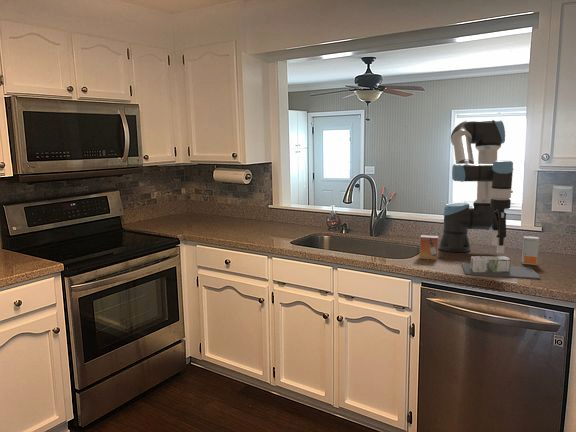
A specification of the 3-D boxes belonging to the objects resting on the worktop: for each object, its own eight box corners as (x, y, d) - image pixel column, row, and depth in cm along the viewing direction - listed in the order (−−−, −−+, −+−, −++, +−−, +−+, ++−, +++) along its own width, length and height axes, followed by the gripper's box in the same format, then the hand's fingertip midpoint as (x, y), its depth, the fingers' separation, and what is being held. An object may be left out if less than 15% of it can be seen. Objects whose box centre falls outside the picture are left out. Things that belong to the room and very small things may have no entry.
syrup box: (505, 255, 196) (470, 255, 198) (511, 259, 191) (474, 259, 192) (505, 269, 197) (469, 268, 199) (510, 273, 192) (474, 272, 193)
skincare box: (522, 264, 207) (524, 237, 205) (521, 261, 211) (523, 235, 209) (537, 265, 205) (539, 238, 203) (536, 263, 209) (538, 236, 207)
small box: (419, 259, 218) (419, 236, 217) (420, 256, 224) (420, 234, 222) (437, 260, 216) (438, 237, 214) (437, 257, 221) (438, 235, 219)
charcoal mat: (461, 264, 207) (461, 263, 207) (531, 268, 200) (531, 267, 200) (465, 274, 192) (465, 273, 192) (540, 279, 185) (540, 277, 185)
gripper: (516, 203, 179) (512, 257, 182) (505, 194, 202) (502, 242, 206) (495, 202, 181) (492, 255, 184) (486, 194, 204) (484, 241, 208)
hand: (497, 249), depth 195 cm, fingers open, 13 cm apart
